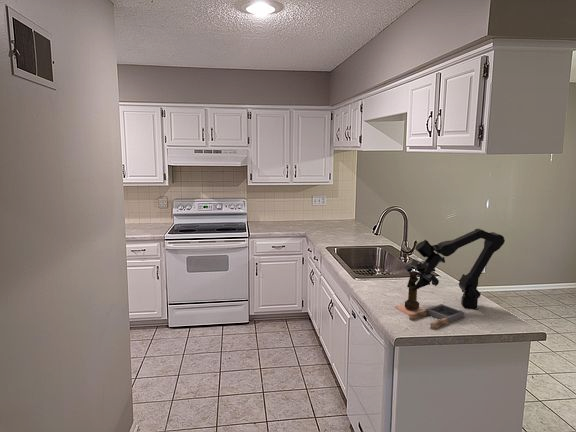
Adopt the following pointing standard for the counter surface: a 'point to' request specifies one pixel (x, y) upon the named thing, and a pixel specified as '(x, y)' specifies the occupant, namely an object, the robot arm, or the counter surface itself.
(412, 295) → the wooden pepper mill
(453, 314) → the charcoal box
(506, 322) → the counter surface
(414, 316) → the walnut channel
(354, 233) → the counter surface
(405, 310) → the terracotta tile
